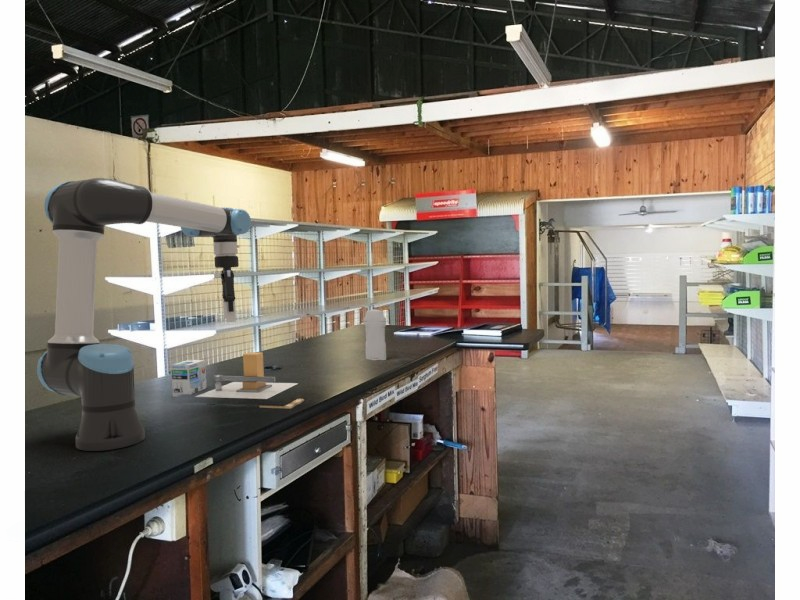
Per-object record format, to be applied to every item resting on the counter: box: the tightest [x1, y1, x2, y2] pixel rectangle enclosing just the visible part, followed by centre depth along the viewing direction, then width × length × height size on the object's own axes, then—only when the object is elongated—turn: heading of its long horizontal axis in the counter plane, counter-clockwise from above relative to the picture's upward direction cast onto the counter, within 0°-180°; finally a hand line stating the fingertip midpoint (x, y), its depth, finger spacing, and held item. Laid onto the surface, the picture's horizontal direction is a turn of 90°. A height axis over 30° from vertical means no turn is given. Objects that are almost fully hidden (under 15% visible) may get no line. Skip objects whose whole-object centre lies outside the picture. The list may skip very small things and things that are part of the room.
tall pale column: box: [363, 308, 387, 361], centre depth 261 cm, size 11×4×22 cm, turn 67°
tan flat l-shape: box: [259, 398, 305, 409], centre depth 182 cm, size 10×10×1 cm
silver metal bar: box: [212, 374, 277, 383], centre depth 197 cm, size 3×22×2 cm, turn 76°
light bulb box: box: [170, 359, 207, 398], centre depth 200 cm, size 11×7×11 cm, turn 168°
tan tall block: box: [241, 351, 267, 390], centre depth 200 cm, size 7×5×12 cm
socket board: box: [194, 381, 299, 400], centre depth 199 cm, size 24×25×4 cm
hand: (229, 320), depth 198 cm, fingers open, 13 cm apart
